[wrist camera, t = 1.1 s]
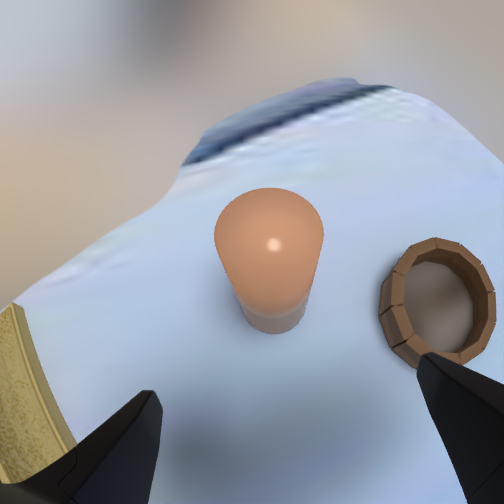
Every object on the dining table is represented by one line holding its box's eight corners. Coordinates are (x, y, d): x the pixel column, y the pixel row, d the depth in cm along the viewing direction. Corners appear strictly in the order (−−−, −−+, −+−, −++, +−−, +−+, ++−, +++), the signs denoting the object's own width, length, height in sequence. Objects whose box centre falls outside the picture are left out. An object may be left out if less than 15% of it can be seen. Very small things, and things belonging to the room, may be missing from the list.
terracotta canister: (318, 300, 23) (345, 226, 13) (275, 347, 21) (271, 305, 12) (272, 263, 25) (266, 172, 15) (229, 304, 23) (192, 234, 14)
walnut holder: (491, 299, 21) (508, 288, 18) (443, 394, 18) (462, 392, 15) (415, 234, 25) (427, 216, 22) (355, 319, 22) (365, 308, 19)
